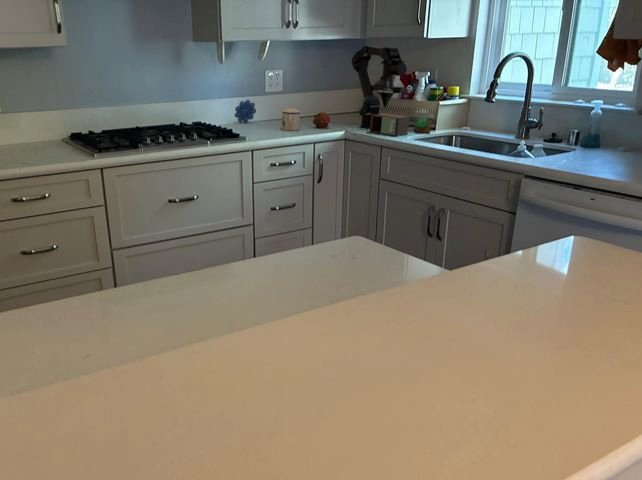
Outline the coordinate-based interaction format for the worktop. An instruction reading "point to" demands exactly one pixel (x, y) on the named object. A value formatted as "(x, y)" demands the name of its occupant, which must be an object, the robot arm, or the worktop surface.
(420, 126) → the food container
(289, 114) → the teacup with lid
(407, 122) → the cabinet
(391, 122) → the sliding door
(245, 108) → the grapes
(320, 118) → the dragon fruit
